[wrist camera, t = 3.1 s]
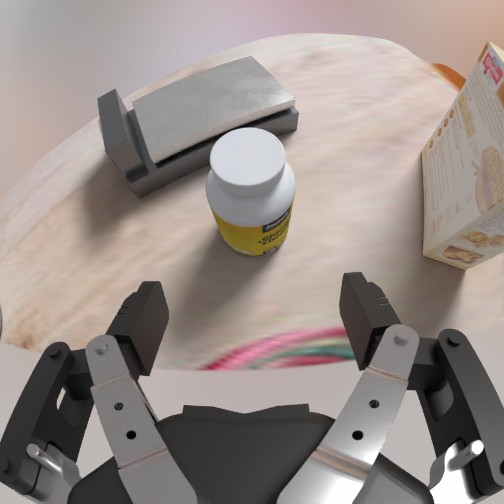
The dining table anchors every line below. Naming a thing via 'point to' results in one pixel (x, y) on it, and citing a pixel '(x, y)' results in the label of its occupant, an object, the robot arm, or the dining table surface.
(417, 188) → the dining table surface
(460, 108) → the coffeecake box
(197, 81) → the pan
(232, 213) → the pill bottle
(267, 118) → the kitchen scale
